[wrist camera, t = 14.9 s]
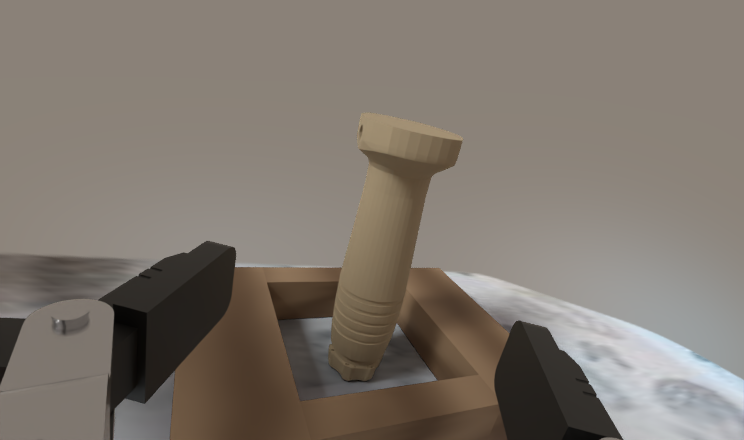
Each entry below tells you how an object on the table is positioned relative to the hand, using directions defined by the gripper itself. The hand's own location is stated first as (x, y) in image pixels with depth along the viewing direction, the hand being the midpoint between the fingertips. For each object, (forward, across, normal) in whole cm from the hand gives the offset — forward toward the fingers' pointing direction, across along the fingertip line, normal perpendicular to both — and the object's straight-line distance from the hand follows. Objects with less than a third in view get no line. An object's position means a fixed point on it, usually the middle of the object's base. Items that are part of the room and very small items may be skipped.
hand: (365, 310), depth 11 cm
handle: (+10, 0, +11) cm, 15 cm away
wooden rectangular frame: (+10, 0, +10) cm, 15 cm away
